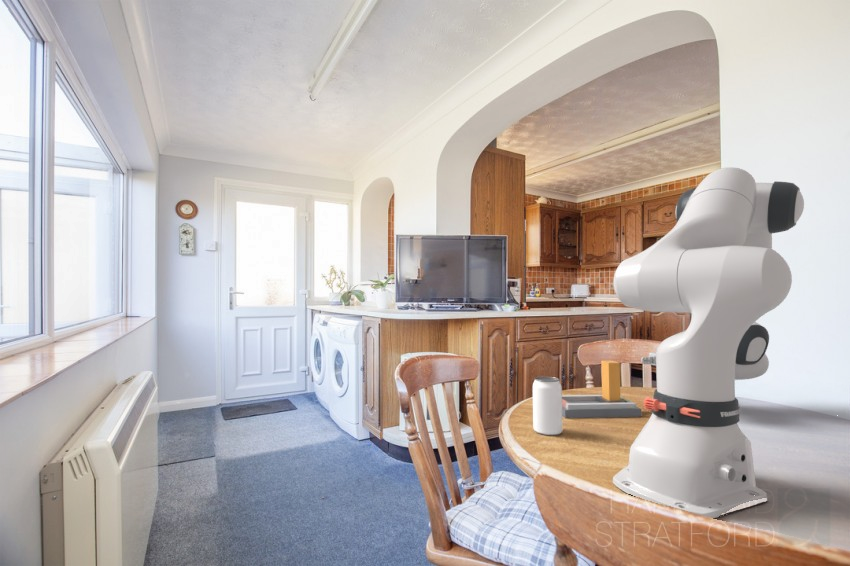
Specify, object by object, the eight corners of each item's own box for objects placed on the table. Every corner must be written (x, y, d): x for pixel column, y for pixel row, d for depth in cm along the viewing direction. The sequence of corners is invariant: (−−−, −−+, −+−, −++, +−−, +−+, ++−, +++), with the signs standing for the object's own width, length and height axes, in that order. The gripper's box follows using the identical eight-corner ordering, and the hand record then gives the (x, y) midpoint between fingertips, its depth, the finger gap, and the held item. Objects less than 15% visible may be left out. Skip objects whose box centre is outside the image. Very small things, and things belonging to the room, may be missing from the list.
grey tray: (618, 405, 113) (618, 393, 113) (641, 416, 102) (641, 404, 102) (549, 406, 112) (549, 394, 112) (565, 418, 101) (565, 405, 101)
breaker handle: (614, 399, 110) (613, 359, 111) (626, 405, 104) (625, 363, 105) (596, 399, 110) (596, 360, 111) (607, 405, 104) (606, 363, 105)
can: (565, 429, 92) (564, 377, 93) (558, 438, 87) (557, 382, 87) (537, 425, 96) (537, 375, 96) (529, 432, 90) (528, 379, 91)
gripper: (676, 347, 119) (631, 347, 118) (731, 356, 99) (677, 356, 98) (676, 368, 119) (631, 368, 118) (732, 382, 98) (678, 382, 98)
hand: (652, 363), depth 108 cm, fingers open, 8 cm apart
